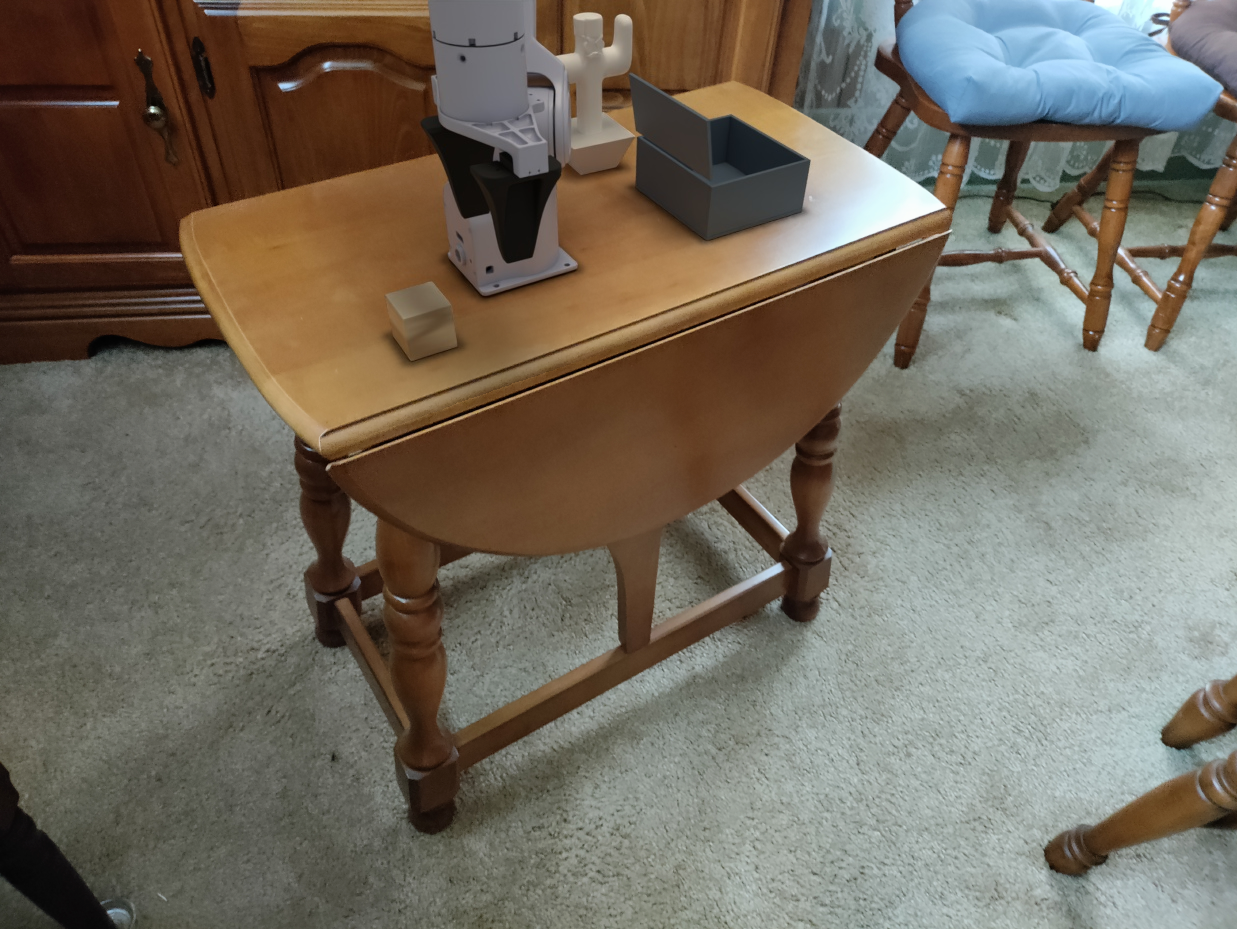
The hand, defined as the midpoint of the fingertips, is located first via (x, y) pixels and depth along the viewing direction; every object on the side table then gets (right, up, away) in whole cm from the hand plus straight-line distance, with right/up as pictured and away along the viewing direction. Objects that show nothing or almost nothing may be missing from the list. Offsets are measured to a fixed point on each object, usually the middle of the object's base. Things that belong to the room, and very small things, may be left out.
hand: (495, 235), depth 62 cm
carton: (+19, +11, +26) cm, 34 cm away
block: (-7, -7, +7) cm, 12 cm away
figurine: (+6, +16, +32) cm, 36 cm away
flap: (+14, +15, +17) cm, 27 cm away
